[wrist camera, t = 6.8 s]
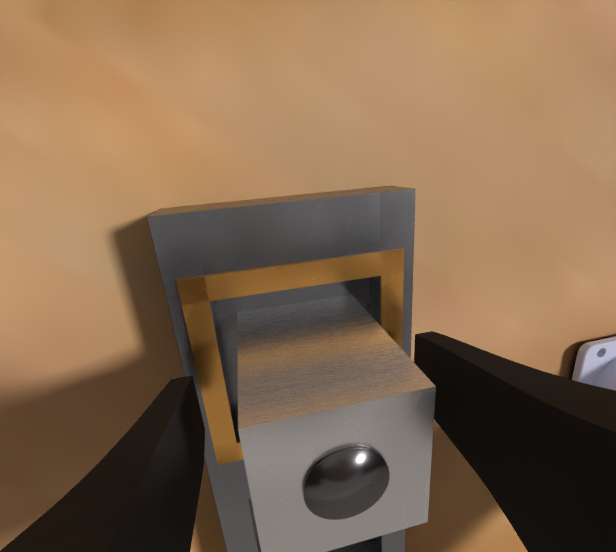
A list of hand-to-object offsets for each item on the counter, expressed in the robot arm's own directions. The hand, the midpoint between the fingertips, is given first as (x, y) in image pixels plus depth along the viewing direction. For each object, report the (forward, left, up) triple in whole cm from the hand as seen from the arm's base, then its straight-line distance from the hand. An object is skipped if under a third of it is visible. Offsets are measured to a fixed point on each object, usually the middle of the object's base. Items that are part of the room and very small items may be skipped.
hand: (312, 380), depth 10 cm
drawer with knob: (0, 0, -2) cm, 2 cm away
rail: (0, +8, -3) cm, 9 cm away
